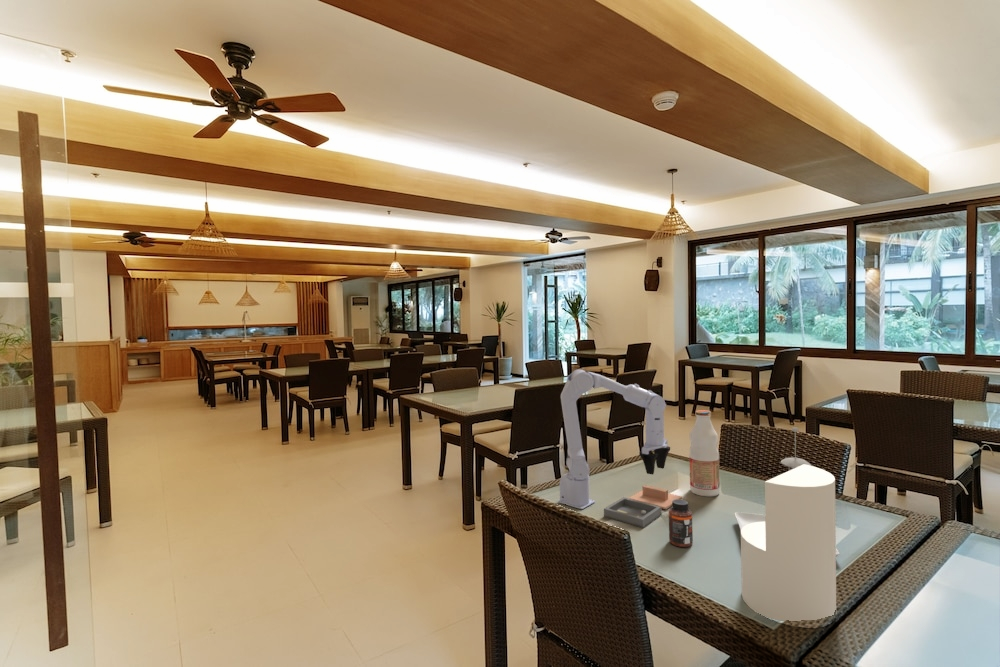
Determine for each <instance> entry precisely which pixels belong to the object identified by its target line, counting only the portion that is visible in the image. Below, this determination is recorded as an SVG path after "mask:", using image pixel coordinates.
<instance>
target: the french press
mask: <svg viewBox="0 0 1000 667" xmlns="http://www.w3.org/2000/svg"><path fill="white" fill-rule="evenodd" d="M791 431H792V432H794V457H785V458H783V459H782V460H781V461H780V463H781V464H782V465H783V466H785V467H788V471H790V470H791V469H794V468H796V467H799V466H801V465H803V464H806V465H810V466H812V464H811V463H810V462H809V461H807V460H805V459H802V458H799V457H797V455H796V454H797V442H796V441H797V438H796V436H797V433H798V432H800V429H799V428H798V427H796V426H795V427H794V426H793V427H791ZM796 432H797V433H796ZM790 468H791V469H790Z"/></svg>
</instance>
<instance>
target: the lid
mask: <svg viewBox="0 0 1000 667" xmlns="http://www.w3.org/2000/svg"><path fill="white" fill-rule="evenodd" d="M628 499H632V500H636V501H640V502H644V503H648V504H652V505H656V506H660V507H661V509H662V510H668V509H670V508H671V507H673V506H672V501H673V500H676V499H681V500H683V496H682V495H677V494H674V493H669V490H668V489H665V488H660V487H656V486H651V485H647V484H644V485H643V486H642V489H641V490H640V491H638V492H636V493H634V494H633V495H631V496H630V497H628Z"/></svg>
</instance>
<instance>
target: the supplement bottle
mask: <svg viewBox="0 0 1000 667" xmlns="http://www.w3.org/2000/svg"><path fill="white" fill-rule="evenodd" d="M668 509H669V510H668V535H669V536H668V539H669V542H670V543H671V545H673V546H675V547H679V548H688V547H691V546H692V545H693V536H694V535H693V512H692V510H691V509H689V502H688V501H687V500H685V499H676V500H673V501H672V506H671V507H669V508H668Z"/></svg>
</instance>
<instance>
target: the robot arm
mask: <svg viewBox="0 0 1000 667" xmlns="http://www.w3.org/2000/svg"><path fill="white" fill-rule="evenodd" d="M599 388H604V389H607V390H609V391H611V392H615V393H616V394H620V395H622V396H623V399H624V401H626V402H629V403H631V404H634V405H636V406H639V407H641V408H644V409H645V443H644V444H643V446H642V447H641V451H639V454H638V455H639V456H640V458H641V460H642V462H643V464H644V465H643V466H644V468H645V471H646V472H645V473H646V474H648V475H654V473H655V466H656V467H657V469H658V468H659V469H665V465H666V461H667V457H668V455H669V452H670V450H671V446H668V439H667V438H665V430H664V429H665V428H664V426H665V424H664V421H665V419H664V412H665V409H666V407H667V403H666V402H665V399H664V398H663V396H660V394H657V393H655V392H653V391H652V390H651V389H648V390H647V389H644V388H642V387H640V385H639V384H637V383H634V384H633V383H632V384H631V383H630V384H628V385H624V384H621V383H619V382H617V381H616V380H613V379H610V378H609V377H606V376H605V375H603V374H602V375H601V374H599V373H595V372H592V371H587V370H586V371H585V370H584V369H581V368H579V369H574V370H573V371H572V372H571V373H570V374H569V375H568V376H567V379H566V382H565V384H564V387H563V389H562V391H561V393H560V404H561V410H562V417H563V422H564V431H565V436H566V444H567V451H566V452H567V457H566V461H565V463H566V466H567V468H568V472H567V473H564V474H562V475H561V477H560V479H559V500H558V503H559V504H562V505H565V504H566V505H567V506H569V507H573V508H576V509H579V510H584V509H585V508H587V507H589V506H591V505H592V504H595V502H596V501H595V500H593V499H591V498H590V497H591V496H590V471H591V469H590V465H589V464H588V462H587V460H586V455H585V452H584V448H583V441H582V435H581V429H580V428H581V427H580V421H579V414H578V407H577V401H578V399H580V397H581V396H582V395H584V394H585V393H588V392H589V391H590V390H591V389H594V390H595V389H599ZM653 451H654V452H653ZM655 464H656V465H655Z"/></svg>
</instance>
